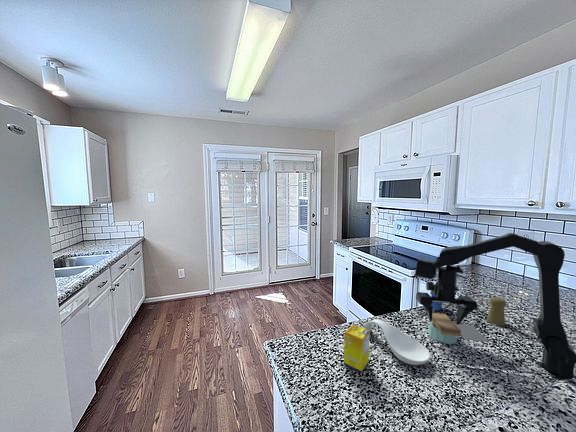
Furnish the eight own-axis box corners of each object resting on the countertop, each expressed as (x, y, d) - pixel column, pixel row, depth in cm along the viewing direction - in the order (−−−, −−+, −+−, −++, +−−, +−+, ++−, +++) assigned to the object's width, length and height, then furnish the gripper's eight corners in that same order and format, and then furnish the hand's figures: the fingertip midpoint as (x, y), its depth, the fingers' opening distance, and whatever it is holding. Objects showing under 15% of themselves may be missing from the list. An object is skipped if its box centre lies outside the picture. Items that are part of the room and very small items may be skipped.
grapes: (440, 318, 106) (442, 291, 105) (424, 311, 111) (426, 286, 110) (451, 311, 113) (453, 286, 112) (435, 305, 118) (437, 281, 117)
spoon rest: (436, 363, 77) (438, 342, 77) (416, 377, 71) (417, 354, 71) (375, 328, 97) (375, 311, 97) (354, 336, 91) (355, 318, 90)
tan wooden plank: (460, 336, 84) (460, 330, 84) (441, 334, 85) (441, 328, 85) (445, 319, 96) (445, 314, 96) (428, 317, 97) (428, 312, 97)
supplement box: (351, 355, 80) (352, 323, 79) (368, 363, 76) (370, 330, 75) (342, 364, 76) (344, 331, 75) (361, 374, 72) (363, 338, 71)
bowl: (461, 346, 86) (462, 334, 85) (433, 343, 87) (434, 331, 87) (450, 332, 94) (451, 321, 94) (425, 329, 96) (425, 319, 96)
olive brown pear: (509, 328, 99) (511, 302, 98) (492, 326, 100) (494, 300, 99) (499, 320, 105) (501, 296, 104) (483, 319, 106) (485, 294, 105)
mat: (489, 343, 88) (489, 342, 88) (464, 340, 90) (464, 339, 89) (471, 326, 100) (471, 324, 100) (449, 323, 101) (450, 322, 101)
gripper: (464, 277, 95) (460, 315, 96) (412, 273, 99) (410, 310, 100) (480, 287, 84) (476, 330, 86) (422, 282, 88) (419, 323, 89)
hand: (443, 322), depth 90 cm, fingers open, 9 cm apart
